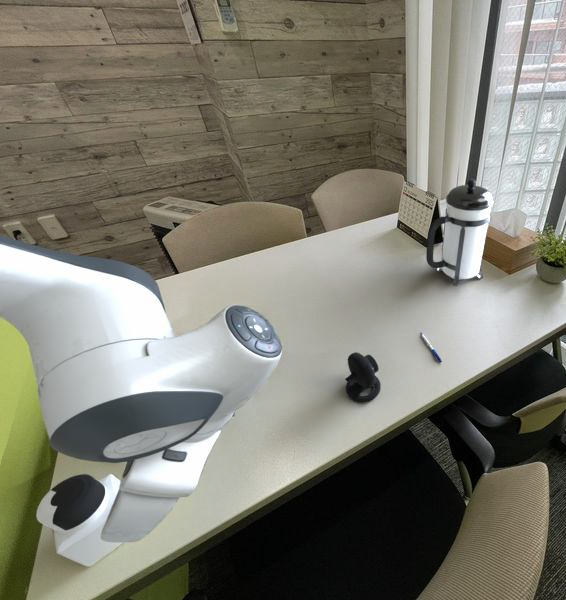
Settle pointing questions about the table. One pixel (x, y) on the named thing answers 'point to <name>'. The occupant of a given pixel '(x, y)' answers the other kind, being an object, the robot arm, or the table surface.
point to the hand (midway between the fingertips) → (134, 470)
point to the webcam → (362, 377)
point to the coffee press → (462, 232)
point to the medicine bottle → (80, 516)
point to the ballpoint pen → (431, 348)
